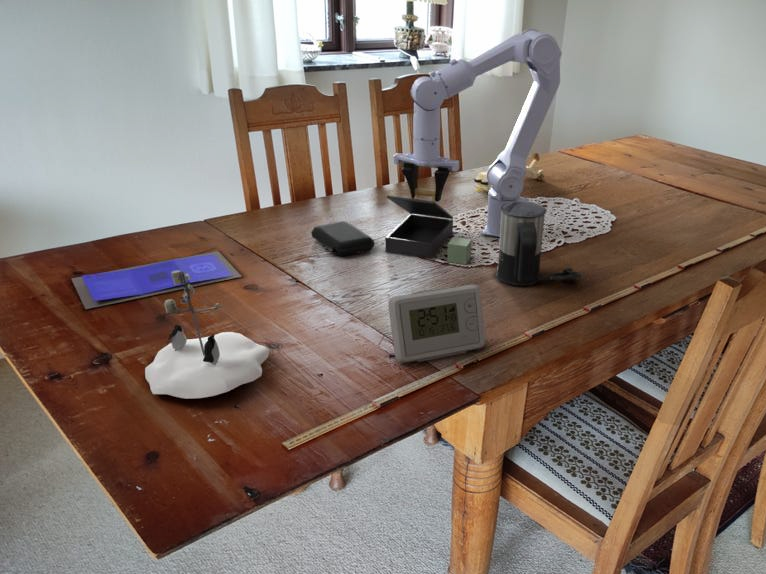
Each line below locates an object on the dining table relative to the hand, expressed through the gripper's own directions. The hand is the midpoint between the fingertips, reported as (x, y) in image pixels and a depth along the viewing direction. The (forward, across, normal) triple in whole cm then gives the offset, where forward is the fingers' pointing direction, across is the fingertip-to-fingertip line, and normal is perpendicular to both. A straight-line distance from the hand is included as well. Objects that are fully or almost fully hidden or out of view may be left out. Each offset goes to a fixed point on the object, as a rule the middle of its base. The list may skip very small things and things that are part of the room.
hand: (426, 198), depth 155 cm
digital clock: (+9, +18, -49) cm, 53 cm away
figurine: (+9, -14, -66) cm, 68 cm away
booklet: (+9, -42, -40) cm, 59 cm away
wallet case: (+9, 0, -4) cm, 10 cm away
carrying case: (+9, -16, -12) cm, 22 cm away
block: (+9, +11, -10) cm, 18 cm away
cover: (+1, 0, -3) cm, 4 cm away
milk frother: (+9, +29, -15) cm, 34 cm away
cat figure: (+9, +10, +45) cm, 47 cm away
